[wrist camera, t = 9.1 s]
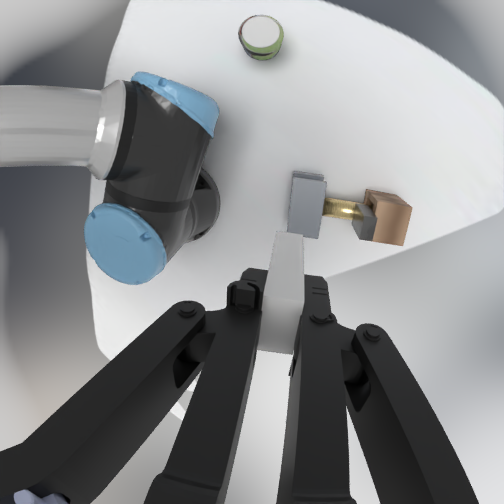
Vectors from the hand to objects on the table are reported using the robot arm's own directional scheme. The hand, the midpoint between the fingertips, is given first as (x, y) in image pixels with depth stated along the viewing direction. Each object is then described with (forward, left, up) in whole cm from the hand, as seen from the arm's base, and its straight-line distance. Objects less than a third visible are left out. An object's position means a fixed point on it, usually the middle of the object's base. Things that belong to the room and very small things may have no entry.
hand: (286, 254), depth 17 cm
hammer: (+10, -5, -32) cm, 34 cm away
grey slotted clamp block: (+2, -5, -34) cm, 35 cm away
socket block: (+16, -5, -34) cm, 38 cm away
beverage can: (-7, +21, -35) cm, 41 cm away
